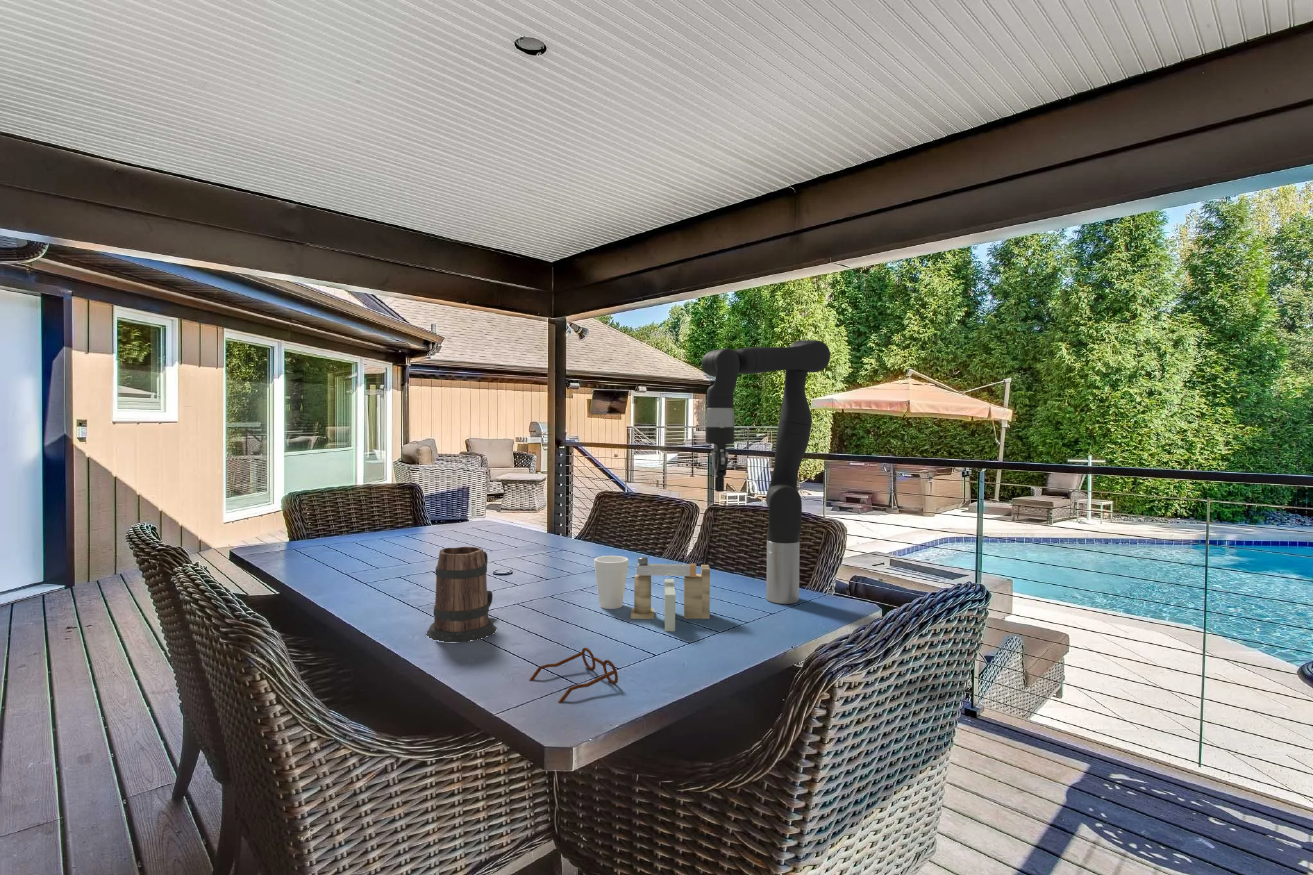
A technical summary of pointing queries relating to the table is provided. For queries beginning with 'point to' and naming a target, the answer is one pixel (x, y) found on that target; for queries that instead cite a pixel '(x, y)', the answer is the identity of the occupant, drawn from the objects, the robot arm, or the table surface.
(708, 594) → the keeper
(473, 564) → the tankard
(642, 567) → the bar
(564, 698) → the glasses
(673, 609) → the door edge
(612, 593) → the foam cup
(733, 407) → the robot arm
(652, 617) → the post
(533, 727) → the table surface
